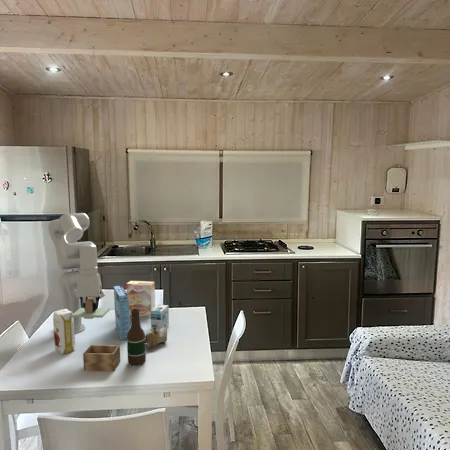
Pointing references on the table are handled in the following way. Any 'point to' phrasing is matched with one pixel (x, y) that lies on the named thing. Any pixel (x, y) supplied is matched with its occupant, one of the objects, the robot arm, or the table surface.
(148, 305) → the coffeecake box
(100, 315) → the lid
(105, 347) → the crate
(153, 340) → the ceramic sculpture
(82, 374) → the table surface
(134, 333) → the beer bottle
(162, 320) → the light bulb box
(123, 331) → the gum box
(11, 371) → the table surface
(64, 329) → the juice carton
